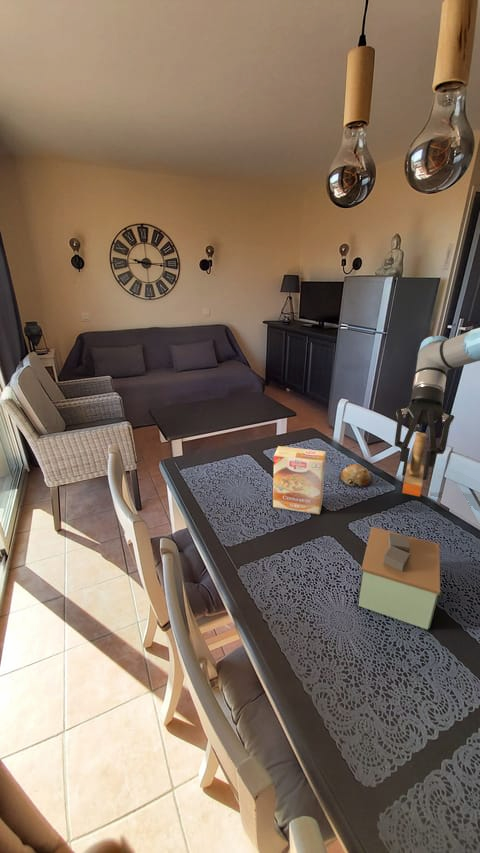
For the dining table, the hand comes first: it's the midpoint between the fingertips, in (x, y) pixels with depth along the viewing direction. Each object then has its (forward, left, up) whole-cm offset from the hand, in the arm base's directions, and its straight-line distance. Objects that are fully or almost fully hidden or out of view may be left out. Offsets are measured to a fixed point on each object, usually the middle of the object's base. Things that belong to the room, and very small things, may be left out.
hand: (414, 476), depth 88 cm
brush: (0, -4, -5) cm, 6 cm away
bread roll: (+17, -31, -24) cm, 43 cm away
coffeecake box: (+31, -8, -24) cm, 40 cm away
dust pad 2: (+1, +18, -11) cm, 22 cm away
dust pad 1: (+1, +13, -11) cm, 18 cm away
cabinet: (0, +16, -23) cm, 28 cm away
